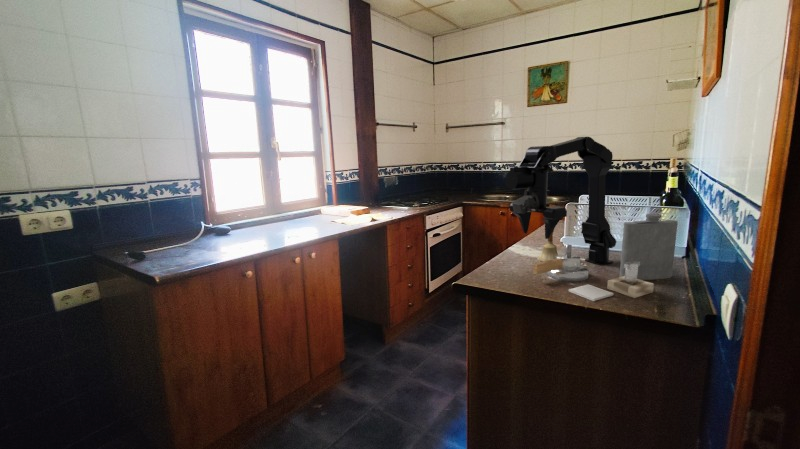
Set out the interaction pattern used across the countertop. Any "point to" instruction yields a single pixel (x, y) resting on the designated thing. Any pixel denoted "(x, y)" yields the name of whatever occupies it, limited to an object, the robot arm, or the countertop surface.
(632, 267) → the shiny silver metal piece
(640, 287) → the socket
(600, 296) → the white square plate
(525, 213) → the robot arm
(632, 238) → the hip flask
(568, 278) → the base
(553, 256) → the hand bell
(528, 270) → the countertop surface
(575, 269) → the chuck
